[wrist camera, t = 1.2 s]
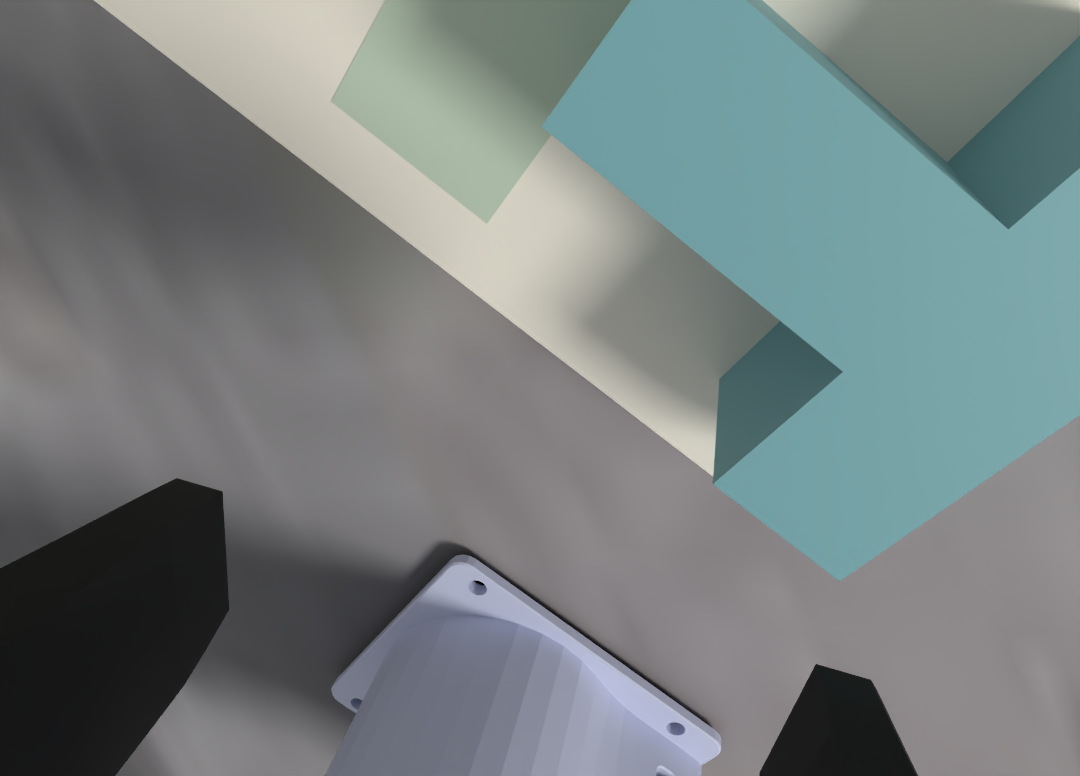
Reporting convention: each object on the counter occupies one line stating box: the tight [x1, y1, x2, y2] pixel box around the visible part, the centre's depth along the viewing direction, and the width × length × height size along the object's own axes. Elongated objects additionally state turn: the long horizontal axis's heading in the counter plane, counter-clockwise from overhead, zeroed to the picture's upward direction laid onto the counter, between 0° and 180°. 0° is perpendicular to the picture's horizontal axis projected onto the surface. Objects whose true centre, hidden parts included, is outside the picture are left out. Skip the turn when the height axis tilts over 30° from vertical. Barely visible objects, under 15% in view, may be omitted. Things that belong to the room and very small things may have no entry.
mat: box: [94, 0, 1080, 476], centre depth 15 cm, size 22×13×1 cm, turn 54°
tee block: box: [541, 0, 1080, 581], centre depth 13 cm, size 9×9×4 cm
